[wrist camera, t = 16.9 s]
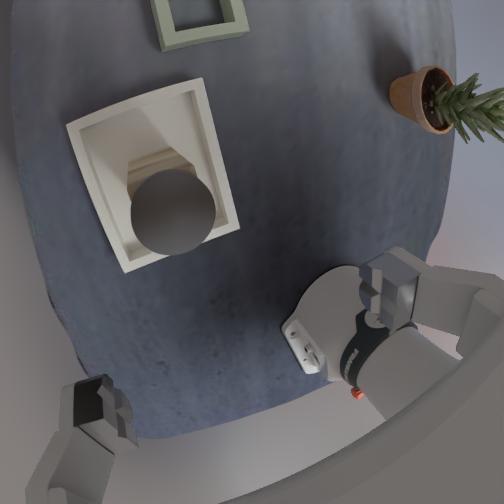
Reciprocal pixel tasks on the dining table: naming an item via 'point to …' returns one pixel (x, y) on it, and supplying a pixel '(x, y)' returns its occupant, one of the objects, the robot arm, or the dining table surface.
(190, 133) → the tray
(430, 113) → the potted plant
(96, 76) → the dining table surface
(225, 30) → the socket block
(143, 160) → the wooden pepper mill
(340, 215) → the dining table surface
